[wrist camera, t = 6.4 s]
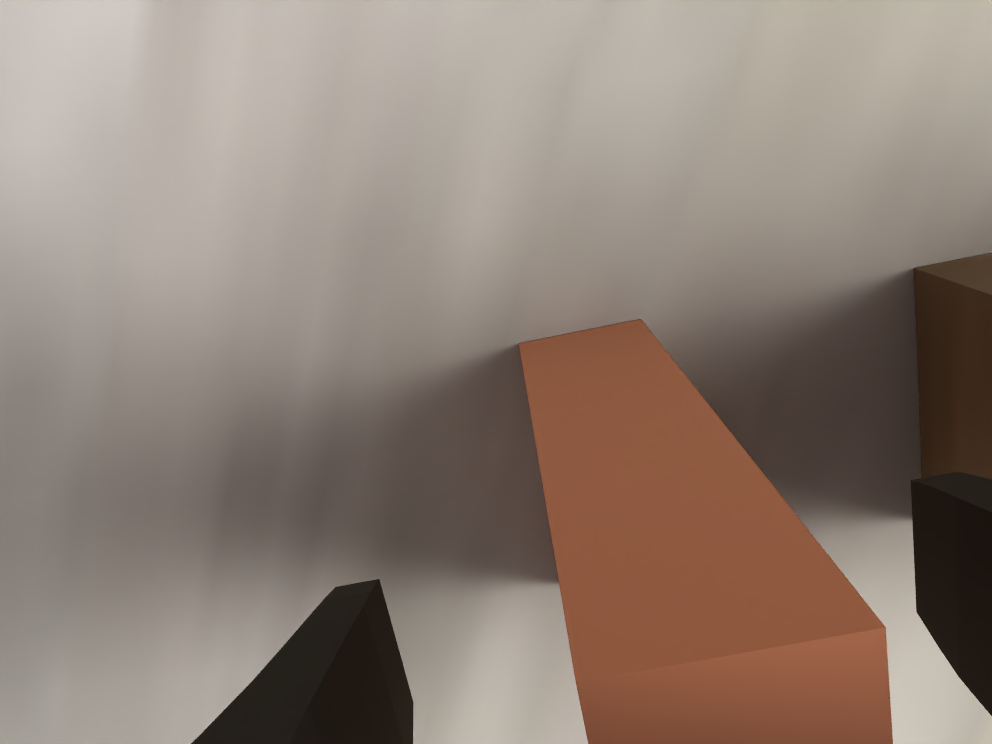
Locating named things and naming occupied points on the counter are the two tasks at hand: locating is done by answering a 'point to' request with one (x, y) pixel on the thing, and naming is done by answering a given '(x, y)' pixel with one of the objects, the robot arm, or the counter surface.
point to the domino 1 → (688, 564)
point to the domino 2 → (955, 365)
